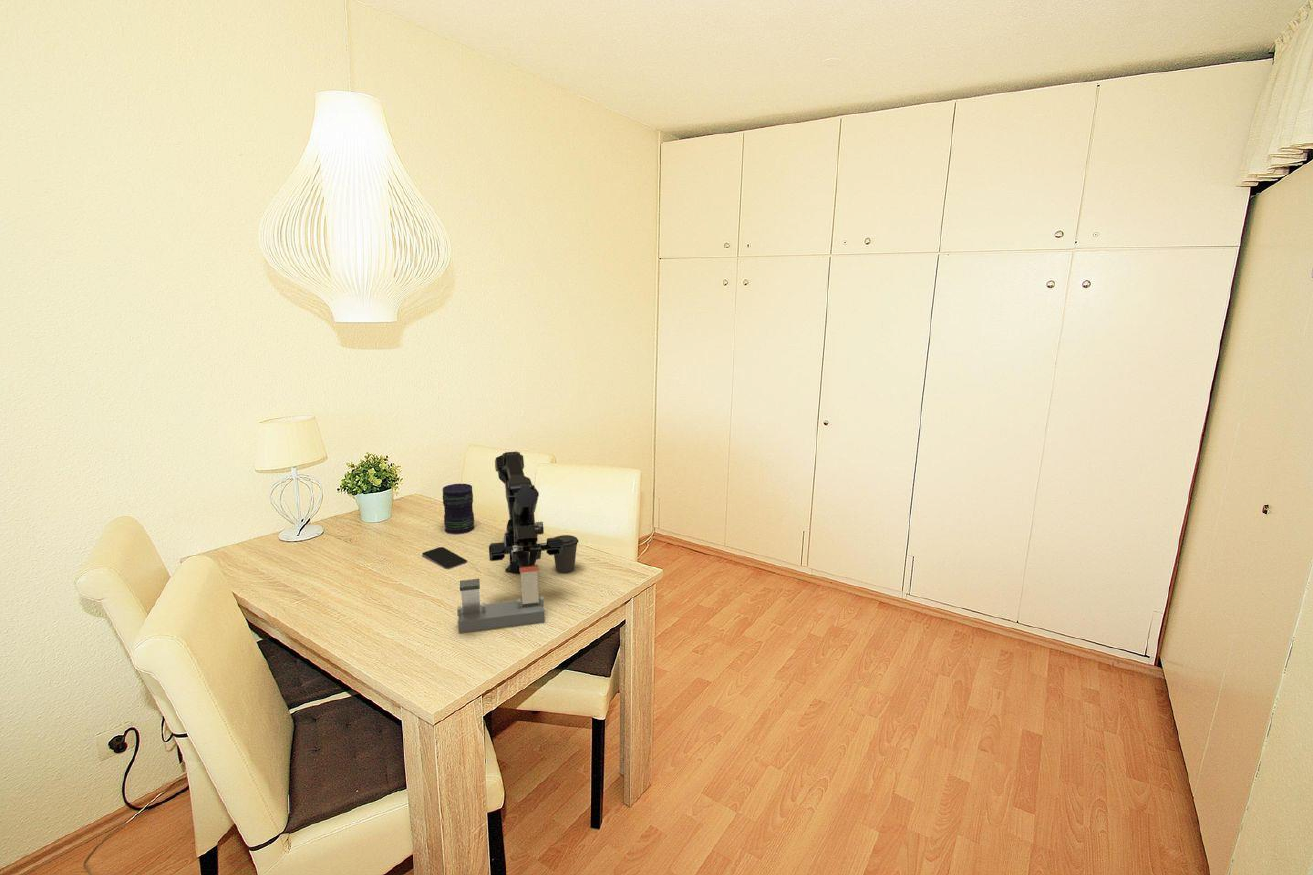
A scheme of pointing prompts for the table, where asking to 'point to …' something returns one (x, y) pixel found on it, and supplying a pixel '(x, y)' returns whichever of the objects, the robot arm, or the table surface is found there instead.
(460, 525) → the storage jar
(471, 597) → the cream dark-capped block
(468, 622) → the switch box
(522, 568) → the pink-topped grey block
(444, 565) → the smartphone
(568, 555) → the coffee cup
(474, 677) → the table surface
